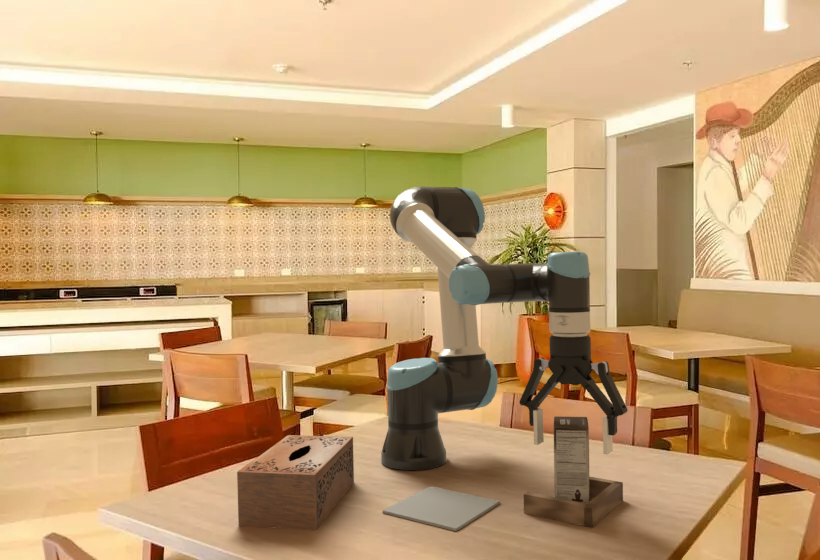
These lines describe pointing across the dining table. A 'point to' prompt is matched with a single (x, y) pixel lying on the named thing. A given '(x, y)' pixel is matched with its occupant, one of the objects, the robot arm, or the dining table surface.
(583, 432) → the coffee box
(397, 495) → the dining table surface
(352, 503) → the dining table surface
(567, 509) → the wooden u-shaped frame
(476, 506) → the grey mat
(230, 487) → the dining table surface
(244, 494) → the tissue box cover
